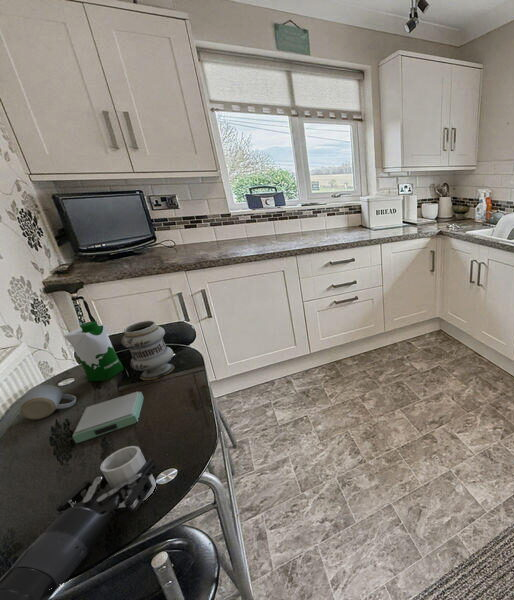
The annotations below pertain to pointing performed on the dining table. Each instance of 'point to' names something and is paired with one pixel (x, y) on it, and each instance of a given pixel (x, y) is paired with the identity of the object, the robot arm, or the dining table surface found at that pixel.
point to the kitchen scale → (109, 416)
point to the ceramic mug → (44, 401)
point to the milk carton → (95, 351)
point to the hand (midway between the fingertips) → (136, 463)
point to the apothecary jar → (148, 349)
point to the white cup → (125, 467)
